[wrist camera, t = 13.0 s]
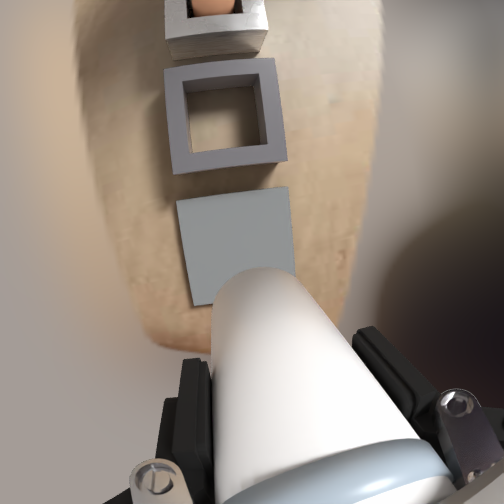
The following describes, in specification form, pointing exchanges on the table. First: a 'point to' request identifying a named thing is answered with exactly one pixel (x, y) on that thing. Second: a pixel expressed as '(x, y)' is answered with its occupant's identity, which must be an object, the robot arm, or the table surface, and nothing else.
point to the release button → (212, 7)
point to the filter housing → (221, 77)
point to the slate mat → (234, 237)
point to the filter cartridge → (305, 408)
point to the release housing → (214, 30)
